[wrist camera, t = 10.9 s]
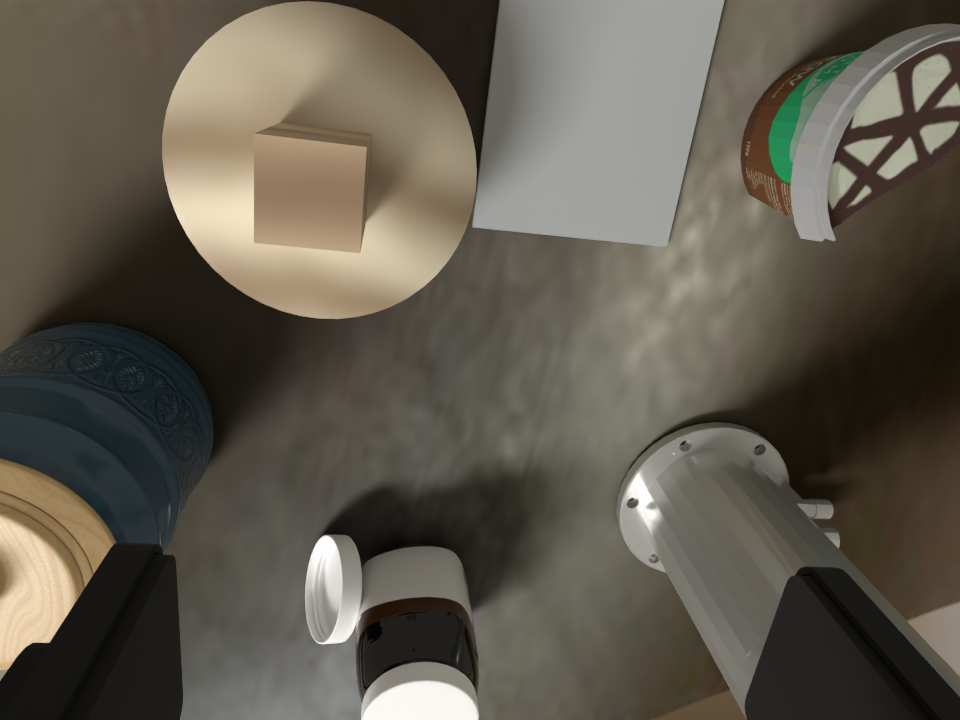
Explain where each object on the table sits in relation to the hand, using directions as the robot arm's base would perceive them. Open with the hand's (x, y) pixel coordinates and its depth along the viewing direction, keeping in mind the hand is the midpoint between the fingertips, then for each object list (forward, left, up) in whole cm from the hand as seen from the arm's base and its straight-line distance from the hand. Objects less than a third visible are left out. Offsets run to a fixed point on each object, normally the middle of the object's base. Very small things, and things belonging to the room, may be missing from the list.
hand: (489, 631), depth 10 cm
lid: (+5, -3, -25) cm, 26 cm away
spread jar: (0, +26, -32) cm, 41 cm away
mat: (-9, -7, -31) cm, 34 cm away
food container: (-21, -9, -32) cm, 39 cm away
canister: (+18, +14, -32) cm, 39 cm away
